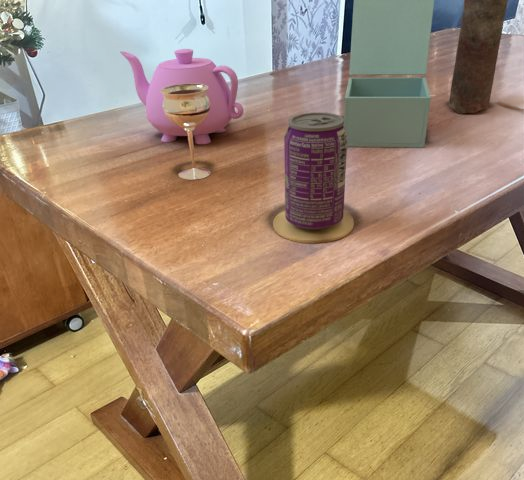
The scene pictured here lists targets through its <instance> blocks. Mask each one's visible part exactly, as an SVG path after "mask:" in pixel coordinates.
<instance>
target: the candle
mask: <svg viewBox="0 0 524 480" xmlns="http://www.w3.org/2000/svg"><path fill="white" fill-rule="evenodd" d="M508 1H509V0H463V9H462V13H461V14H462V15H461V22H460V29H459V36H458V40H457V48H456V55H455V61H454V66H453V74H452V80H451V87H450V94H449V100H448V106H449V107H450V108H451V109H452V110H453V111H454V112H455V113H458V114H462V115H464V114H468V113H469V114H471V113H472V114H474V113H475V114H476V113H477V112H479V111H482V110H487V109H488V108H489V105H490V102H491V96H492V92H493V91H492V90H493V84H494V79H495V72H496V68H497V67H496V66H497V61H498V55H499V50H500V45H501V39H502V35H503V28H504V22H505V19H506V18H505V17H506V12H507V7H508Z"/></svg>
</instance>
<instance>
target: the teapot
mask: <svg viewBox="0 0 524 480" xmlns="http://www.w3.org/2000/svg"><path fill="white" fill-rule="evenodd" d="M119 52H120V54H121V55H122V56H123V57H124V58H125V59H126V60H127V62H128V63H129V65H130V67H131V70H132V74H133V79H134V87H135V92H136V94H137V97H138V99H139V100H140V102H141V103H142V104H143V105H144V106H145V114H146V119H147V121H148V122H149V123H150V124H151V126H153V128H154V129H156V130H157V131H158V132H159V133H161V134H163V135H162V136H161V139H160V141H161V142H163V143H171V142H174V141H176V140H177V138H178V137H188V135H187V131H185V130H184V128H182V127H179V126H177V125H175V124H174V123H173V122H171V121H170V120H169V119H168V118H167V117H166V115H165V113H164V110H163V100H164V96H163V94H162V93H161V89H163V88H164V87H167V86H171V85H176V84H186V83H197V84H204V85H207V86H208V89H207V92H206V94H207V96H208V97H209V100H210V110H209V114H208V116H207V117H206V118H205V120H204V121H203V122H202V123H201V124H199V125H198V126H196V127H195V129H194V131H192V133H193V138H194V143H195V144H197V145H207V144H210V143H212V141H211V138H210V136H209V134H212V133H214V134H218V133H219V134H220V133H223V132H225V131H226V129H225V127H226V126H228V124H229V123H230V121H231V120H232V119H233V120H236V119H239V118H241V117H242V116H243V115H244V107H243V105H242V104H241V103H240V102H237V95H238V90H239V78H238V75H237V73H236V72H235V70H234V69H232V67H230V66H228V65H223V64H222V65H218V66H217V65H216V64H215V62H214V61H213V60H212V59H209V58H203V57H193V56H194V50H193V49H190V48H180V49H176V50H174V55H175V57H176V58H174V59H169V60H165V61H162V62H160V63H158V65H157V66H156V68H155V70H154V72H153V75H152V77H151V80H150V82H149V81H148V79H147V76H146V75H145V71H144V67H143V65H142V63H141V61H140V60H139V58H138V56H137V55H135V54H133V53H130V52H127V51H119ZM222 73H223V74H226V75H227V76H228V78H229V80H230V87H229V84H228V82H227V81H226V79H225V77H224V75H223V74H222ZM235 108H236V109H235ZM236 110H237V111H236Z"/></svg>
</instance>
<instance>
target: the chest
mask: <svg viewBox="0 0 524 480" xmlns="http://www.w3.org/2000/svg"><path fill="white" fill-rule="evenodd" d="M431 101H432V95H431V92H430V89H429V84H428V81H427V78H426V76H400V77H399V76H394V77H393V76H392V77H391V76H390V77H389V76H386V77H385V76H383V77H381V76H380V77H375V76H373V77H371V76H370V77H369V76H368V77H365V76H364V77H362V76H361V77H348V82H347V87H346V91H345V96H344V106H343V107H344V109H343V110H344V111H343V118H344V124H343V126H344V128H345V131H346V133H347V148H348V147H353V148H355V147H357V148H414V149H415V148H419V149H420V148H423V149H424V148H425V144H426V139H427V138H426V136H427V130H428V124H429V123H428V122H429V115H430V109H431V108H430V107H431Z"/></svg>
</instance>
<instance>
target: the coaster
mask: <svg viewBox="0 0 524 480" xmlns="http://www.w3.org/2000/svg"><path fill="white" fill-rule="evenodd" d="M354 227H355V221H354V218H353V216H352V215H350V214H349V213H348V212H346V211H344V212H343V218H342V220H341V221H340V222H339V223H337V224H335V225H332V226H330V227H328V228H325V229H320V230H308V229H303V228H300V227H298V226H296V225H293V224H291V223H290V222H288V221H287V219H286V217H285V210H283V211H281V212H279V213H278V214H277V215H276V216H275V217H274V219H273V220H272V228H273V231H274V232H275V233H276V234H277V235H278V236H279V237H281V238H284V239H286V240H288V241H292V242H297V243H302V244H303V243H304V244H321V243H329V242H334V241H338V240H340V239H343V238H344V237H346V236H348V235H350V234H351V232H352V231H353V229H354Z"/></svg>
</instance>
